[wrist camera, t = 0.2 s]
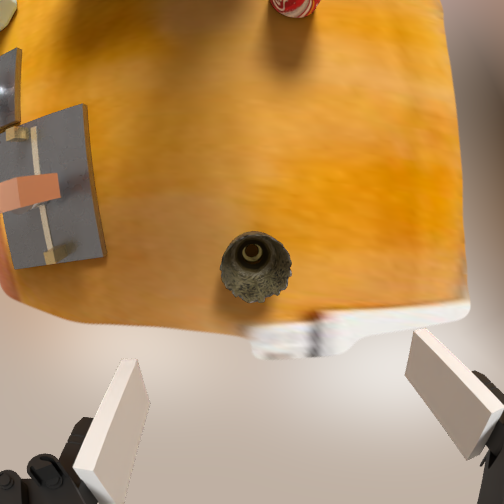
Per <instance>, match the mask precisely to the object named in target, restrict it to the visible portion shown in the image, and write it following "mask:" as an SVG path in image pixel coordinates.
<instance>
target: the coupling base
mask: <svg viewBox="0 0 504 504" xmlns="http://www.w3.org/2000/svg"><path fill="white" fill-rule="evenodd" d="M50 173H57V174H58V182H59V189H60V196H61V197H60V198H56V199H52V200H48V201H44V202H40V203H36V204H33V207H32V208H31V209H30V210H29V211H28V212H26V213H23V214H20V215H17V214H14V213H12V212H11V211H7V212H3V219H4V224H5V229H6V234H7V239H8V244H9V248H10V252H11V257H12V261H13V265H14V269H22V268H28V267H35V266H42V265H49V264H56V263H63V262H70V261H77V260H84V259H92V258H99V257H104V256H105V255H106V254H107V250H106V245H105V240H104V235H103V230H102V225H101V219H100V213H99V207H98V201H97V195H96V188H95V181H94V174H93V166H92V157H91V148H90V137H89V126H88V111H87V105H85V104H79V105H76V106H73V107H70V108H67V109H64V110H61V111H58V112H55V113H52V114H49V115H46V116H43V117H41V118H38V119H35V120H33V121H30V122H28V123H25V124H22V125H20V126H13V127H11V128H8V129H6V132H3V133H1V134H0V183H1V182H4V181H7V180H10V179H13V178H16V177H23V176H31V175H40V174H50Z"/></svg>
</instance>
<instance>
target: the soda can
mask: <svg viewBox="0 0 504 504" xmlns="http://www.w3.org/2000/svg"><path fill="white" fill-rule="evenodd" d="M319 2H320V0H270V3H271V5H272V6H273V7H274V9H275V10H277V11H278V12H279V13H281V14H283V15H285V16H288V17H294V18H301V17H305V16H308V15H310V14H311V13H313V12H314V10H315V9H316V7H317V5H318V4H319Z"/></svg>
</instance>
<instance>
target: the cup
mask: <svg viewBox="0 0 504 504" xmlns="http://www.w3.org/2000/svg"><path fill="white" fill-rule="evenodd" d="M251 244H253V245H255V246H257V248H258V254H257V255H256V256H254V257H249V256H247V254H246V252H245V250H246V247H247V246H248V245H251ZM291 264H292V262H291V260H290V255H289V253H288V251H287V250H286V249H285V248H284V247H283V244H282V243H280V242H279V241H277V240H276V239H274V238H273V237H271V236H270V235H268V234H265V233H262V232H257V231H251V232H246V233H243V234H241V235H239V236H238V237H236V238H235V239H234V240H233V241H232V242H231V243H230V245H229V246H228V248H227V250H226V251H225V253H224V255H223V257H222V263H221V265H220V270H221V271H222V273H221V278H222V282H223V283H224V284H225V286H226V288H227V289H229V290H232V293H233V295H234V296H235V297H238V296H239V297H240V298H242V300H244V301H245V302H247V303H253V302H257V301H258V302H259V303H263V302H264V301H265V298H266V297H270V296H272V295H273V294H276V295H277V296H278V295H279V294H280V291H281V290H285V289H286V288H287V286H288V278H289V277H290V276H292V273H291V270H290V267H291Z"/></svg>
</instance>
